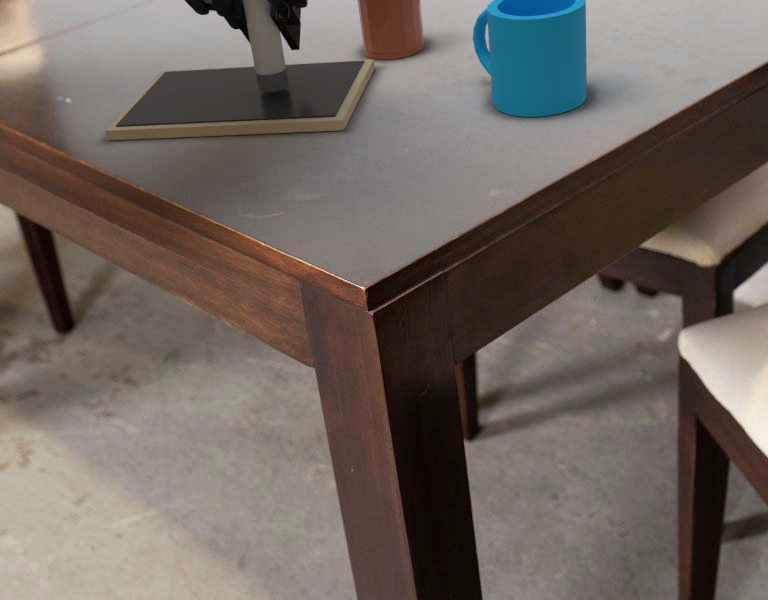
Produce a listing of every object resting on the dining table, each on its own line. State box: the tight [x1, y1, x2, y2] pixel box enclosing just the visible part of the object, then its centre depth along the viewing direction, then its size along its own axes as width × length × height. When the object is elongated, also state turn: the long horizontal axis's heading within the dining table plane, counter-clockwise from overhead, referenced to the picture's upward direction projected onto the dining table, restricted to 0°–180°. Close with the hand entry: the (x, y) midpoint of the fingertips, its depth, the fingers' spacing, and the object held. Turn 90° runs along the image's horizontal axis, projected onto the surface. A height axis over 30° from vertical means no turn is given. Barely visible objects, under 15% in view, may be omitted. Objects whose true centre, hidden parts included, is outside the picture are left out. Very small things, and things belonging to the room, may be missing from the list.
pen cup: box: [357, 0, 425, 61], centre depth 109 cm, size 6×6×8 cm
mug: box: [472, 0, 588, 118], centre depth 95 cm, size 12×8×8 cm
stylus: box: [242, 0, 289, 92], centre depth 99 cm, size 3×3×12 cm
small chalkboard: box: [105, 58, 376, 141], centre depth 103 cm, size 22×15×1 cm
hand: (278, 37), depth 103 cm, fingers closed on stylus, 3 cm apart
